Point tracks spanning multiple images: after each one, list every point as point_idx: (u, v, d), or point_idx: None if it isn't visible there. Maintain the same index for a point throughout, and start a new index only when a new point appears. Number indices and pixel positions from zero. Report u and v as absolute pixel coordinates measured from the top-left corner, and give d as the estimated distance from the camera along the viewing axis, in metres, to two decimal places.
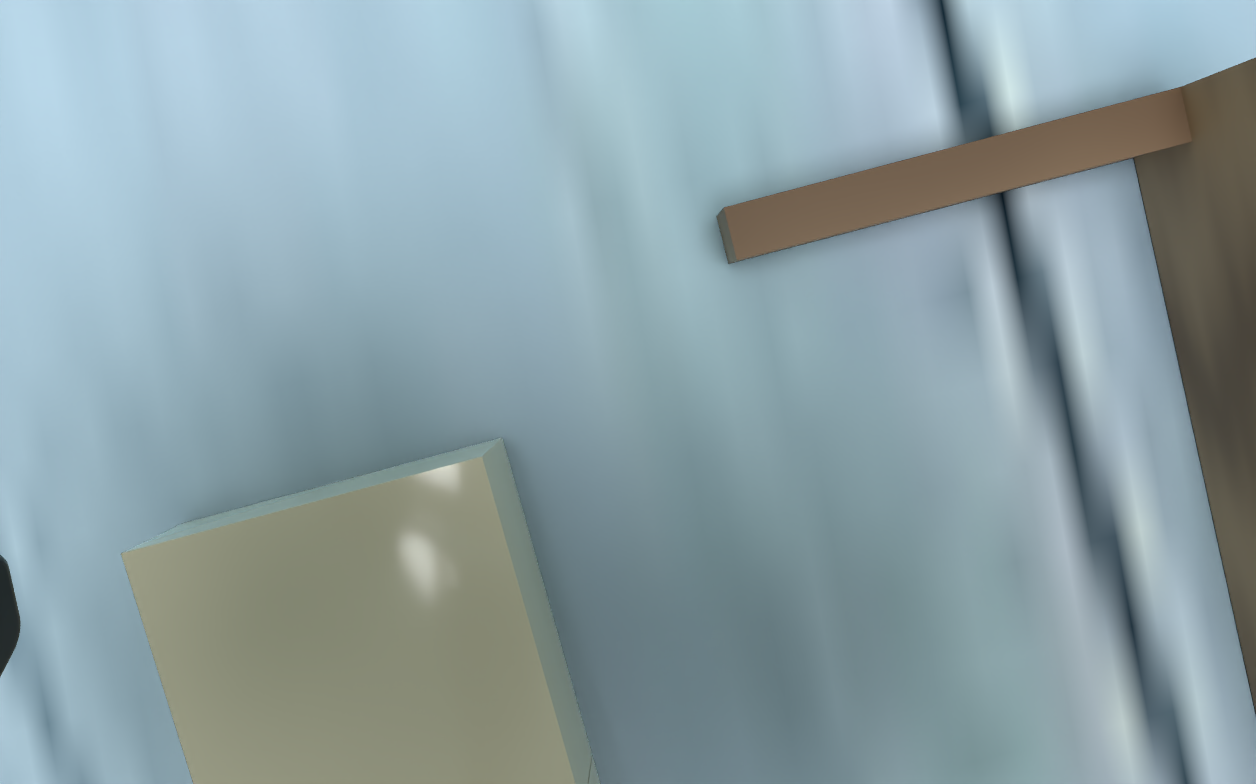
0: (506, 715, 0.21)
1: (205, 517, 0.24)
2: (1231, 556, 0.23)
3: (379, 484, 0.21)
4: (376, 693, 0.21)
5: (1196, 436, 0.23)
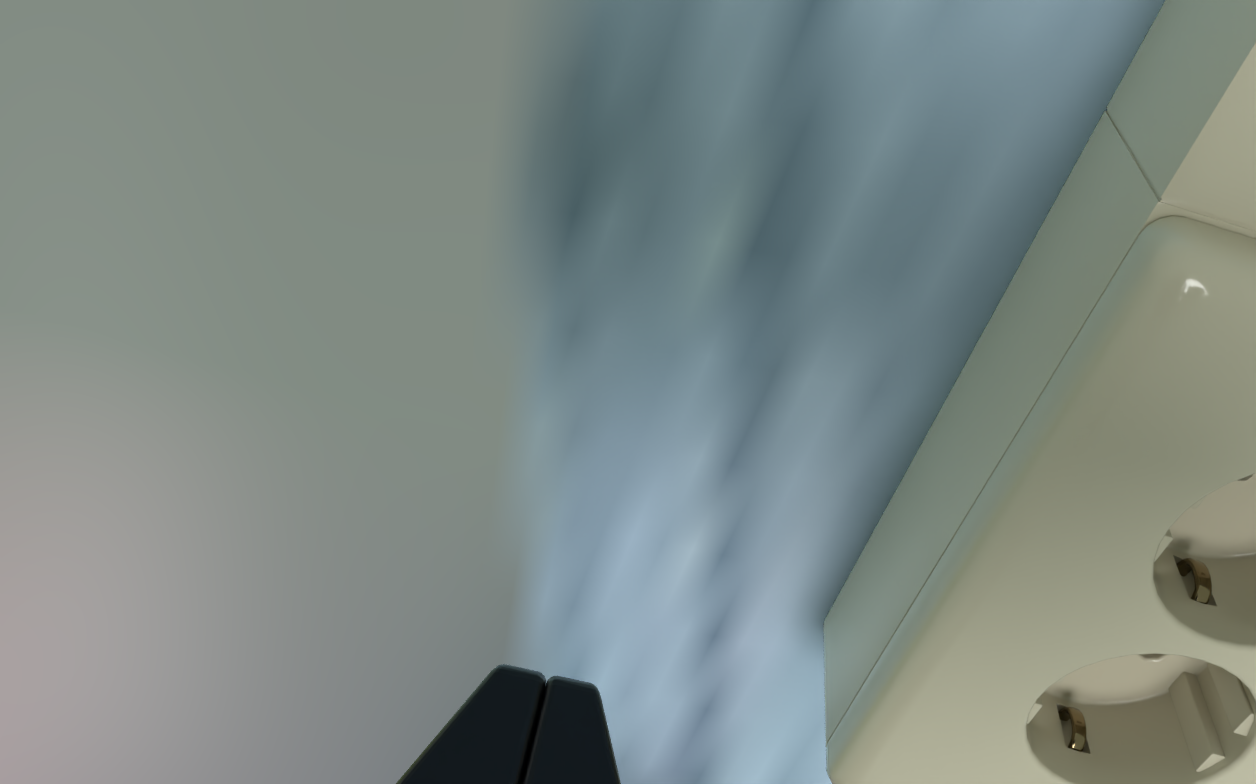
0: None
1: None
2: None
3: None
4: None
5: None
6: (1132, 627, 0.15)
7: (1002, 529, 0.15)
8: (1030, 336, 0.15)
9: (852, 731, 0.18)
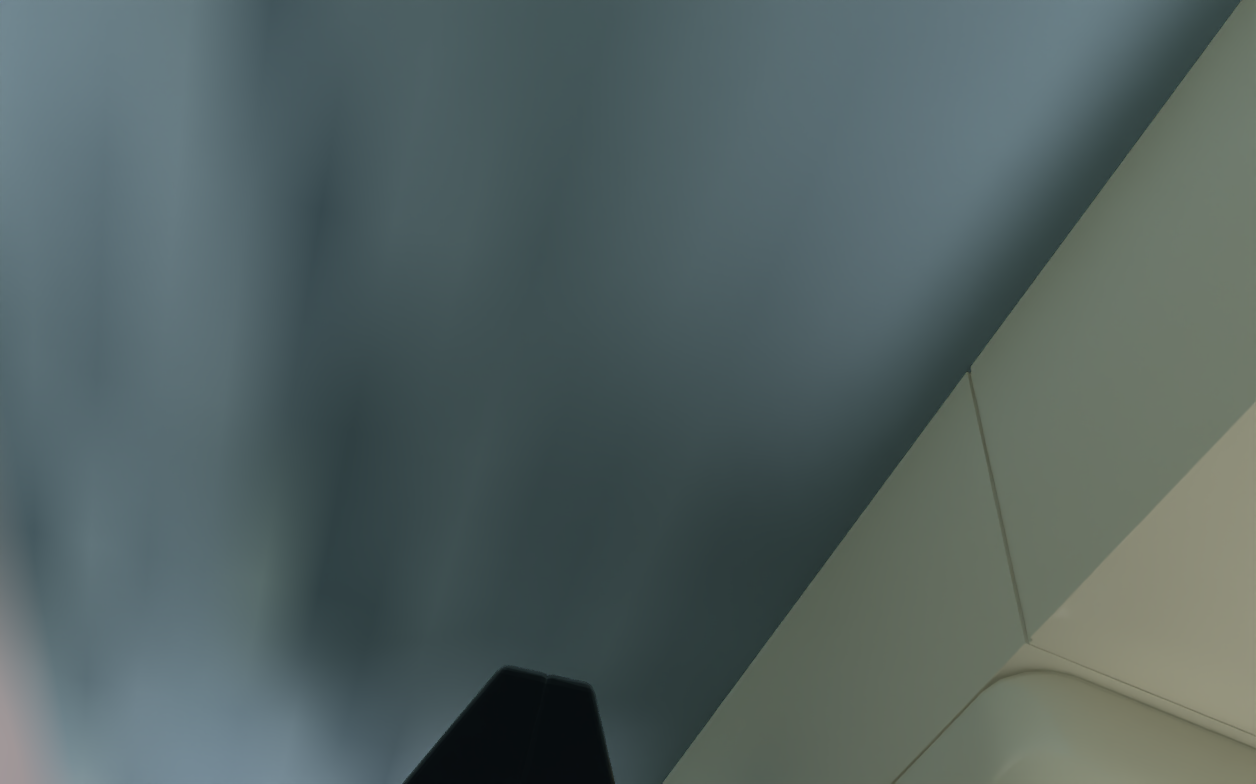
0: None
1: None
2: None
3: None
4: None
5: None
6: None
7: None
8: (795, 740, 0.08)
9: None
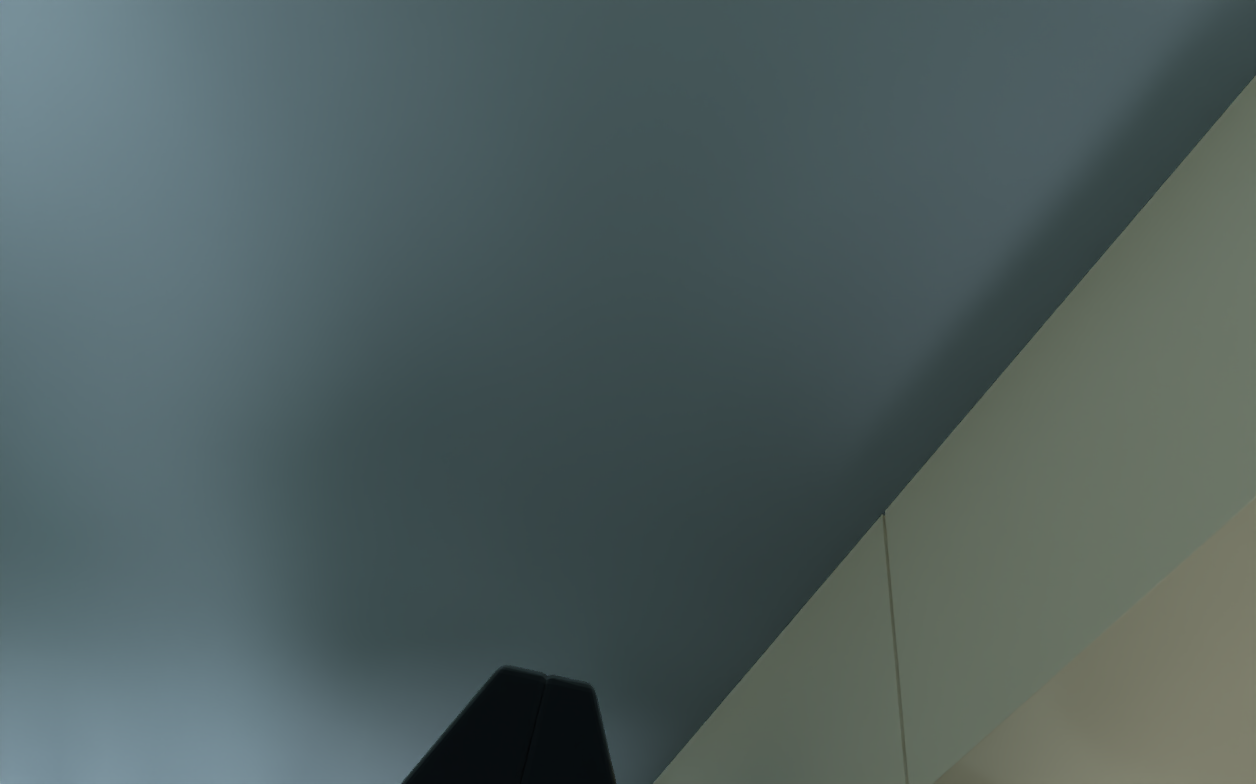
0: None
1: None
2: None
3: None
4: None
5: None
6: None
7: None
8: None
9: None
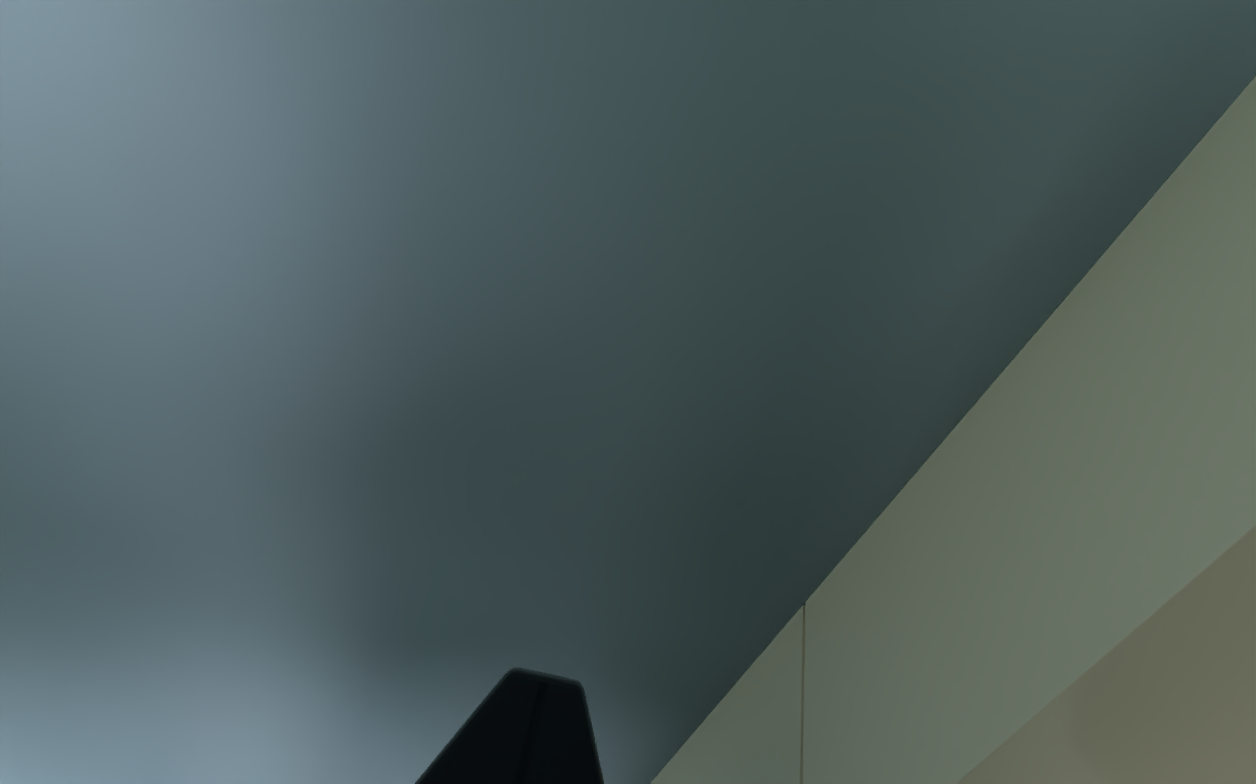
0: None
1: None
2: None
3: None
4: None
5: None
6: None
7: None
8: None
9: None
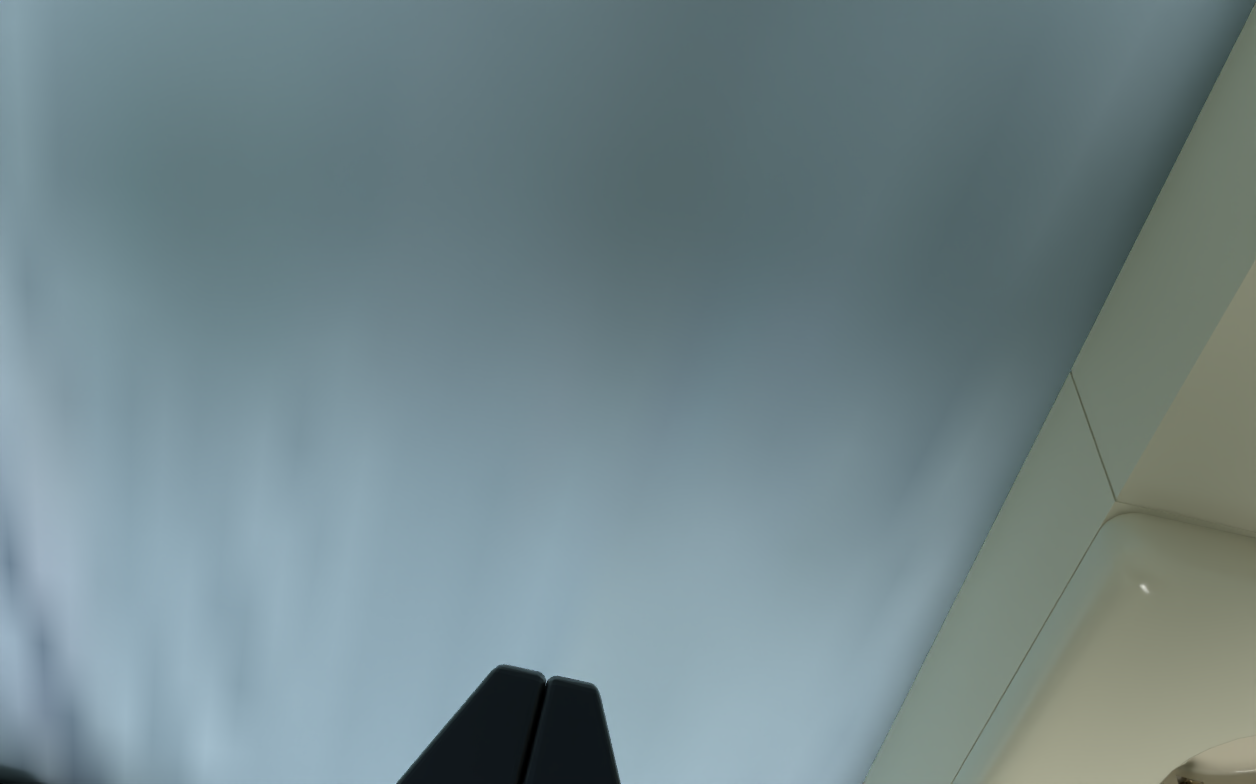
0: None
1: None
2: None
3: None
4: None
5: None
6: None
7: None
8: (1014, 587, 0.16)
9: None
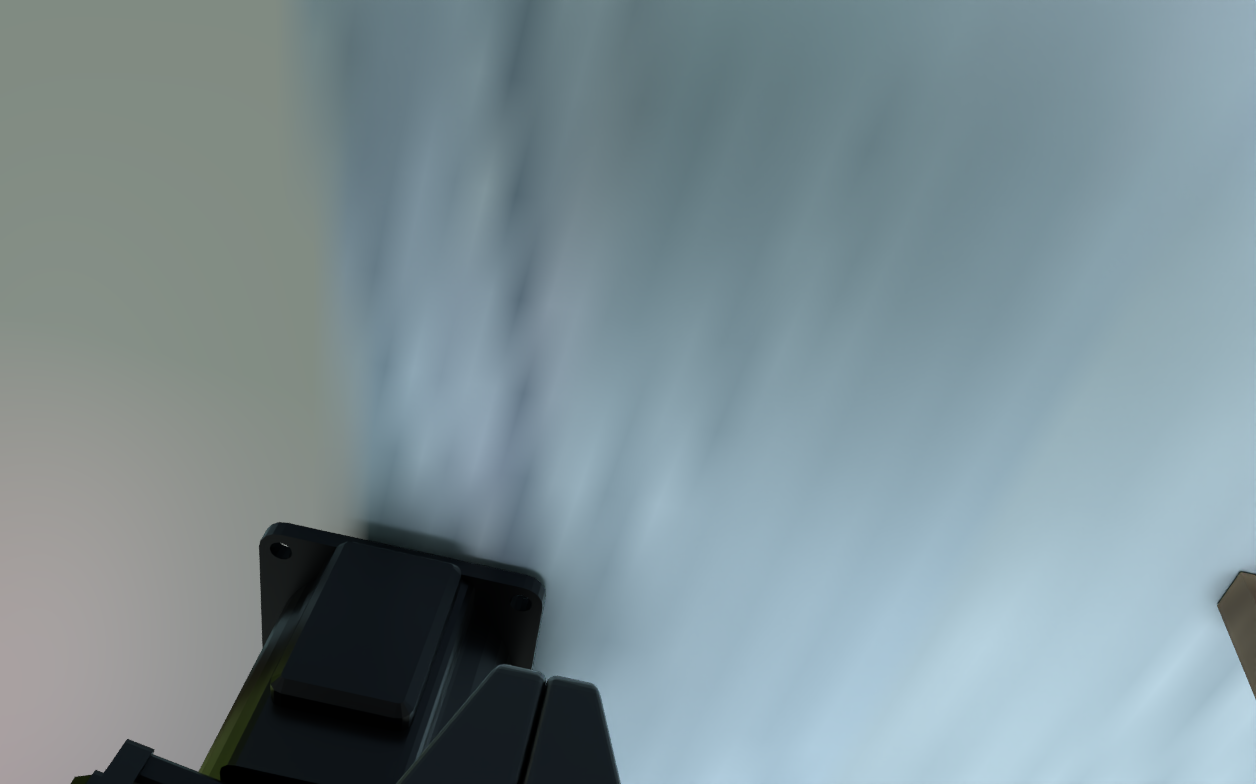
0: None
1: None
2: None
3: None
4: None
5: None
6: None
7: None
8: None
9: None
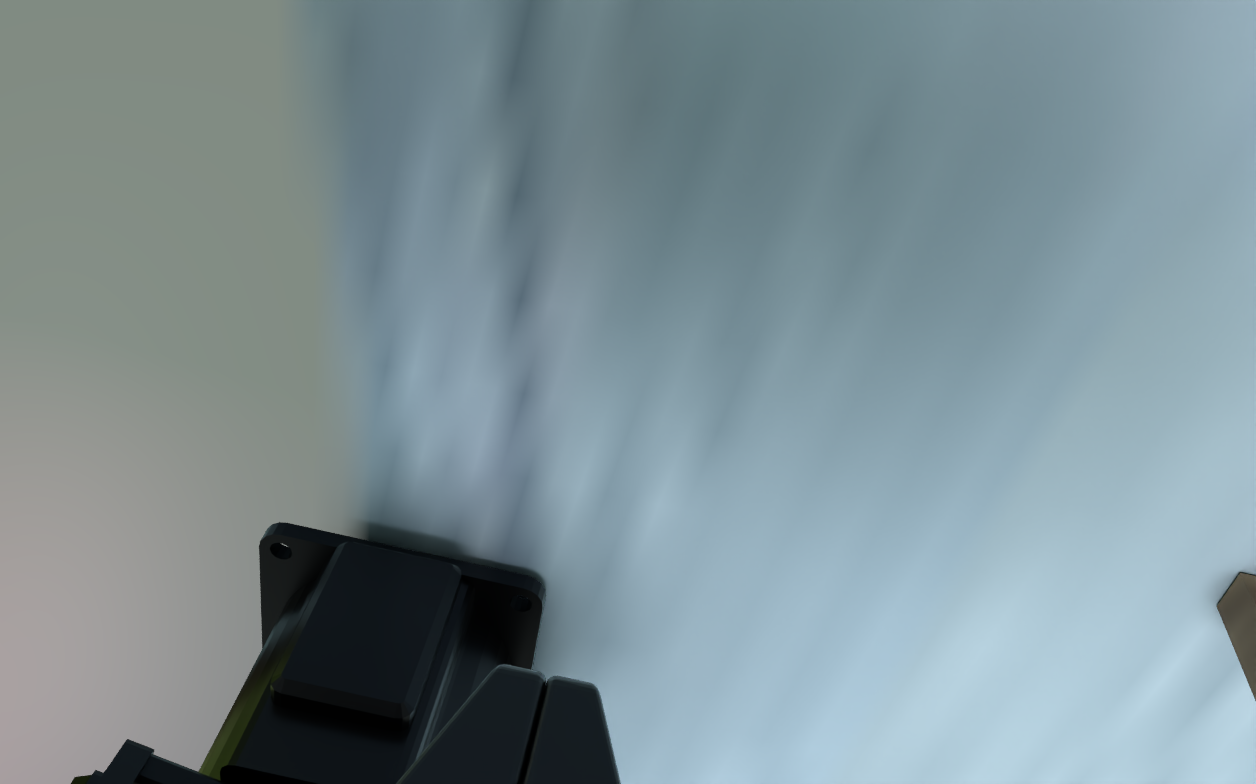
0: None
1: None
2: None
3: None
4: None
5: None
6: None
7: None
8: None
9: None
